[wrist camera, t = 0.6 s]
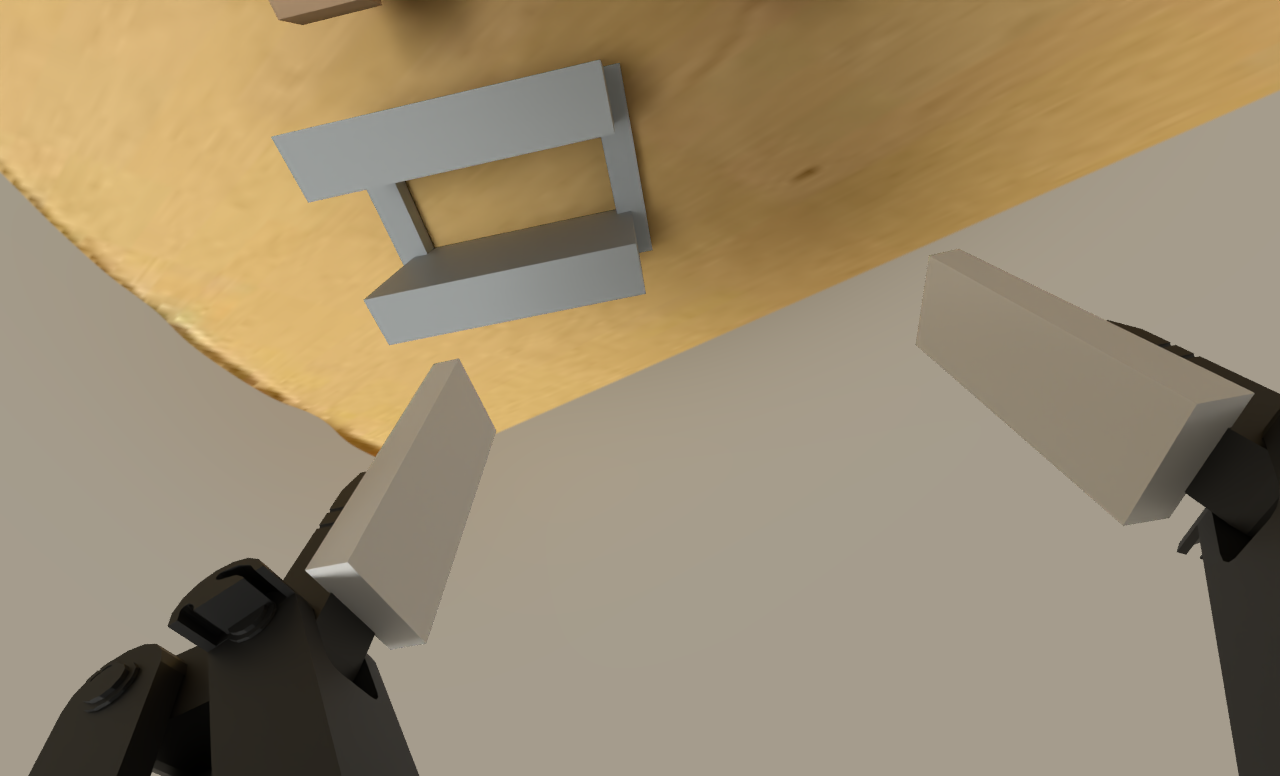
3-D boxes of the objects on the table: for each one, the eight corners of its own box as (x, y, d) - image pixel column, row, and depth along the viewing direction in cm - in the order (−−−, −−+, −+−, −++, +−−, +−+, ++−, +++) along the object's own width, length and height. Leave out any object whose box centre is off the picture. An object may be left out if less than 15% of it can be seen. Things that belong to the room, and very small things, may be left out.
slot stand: (348, 127, 29) (251, 141, 22) (619, 63, 28) (621, 54, 20) (426, 290, 36) (373, 348, 28) (651, 244, 35) (662, 290, 27)
